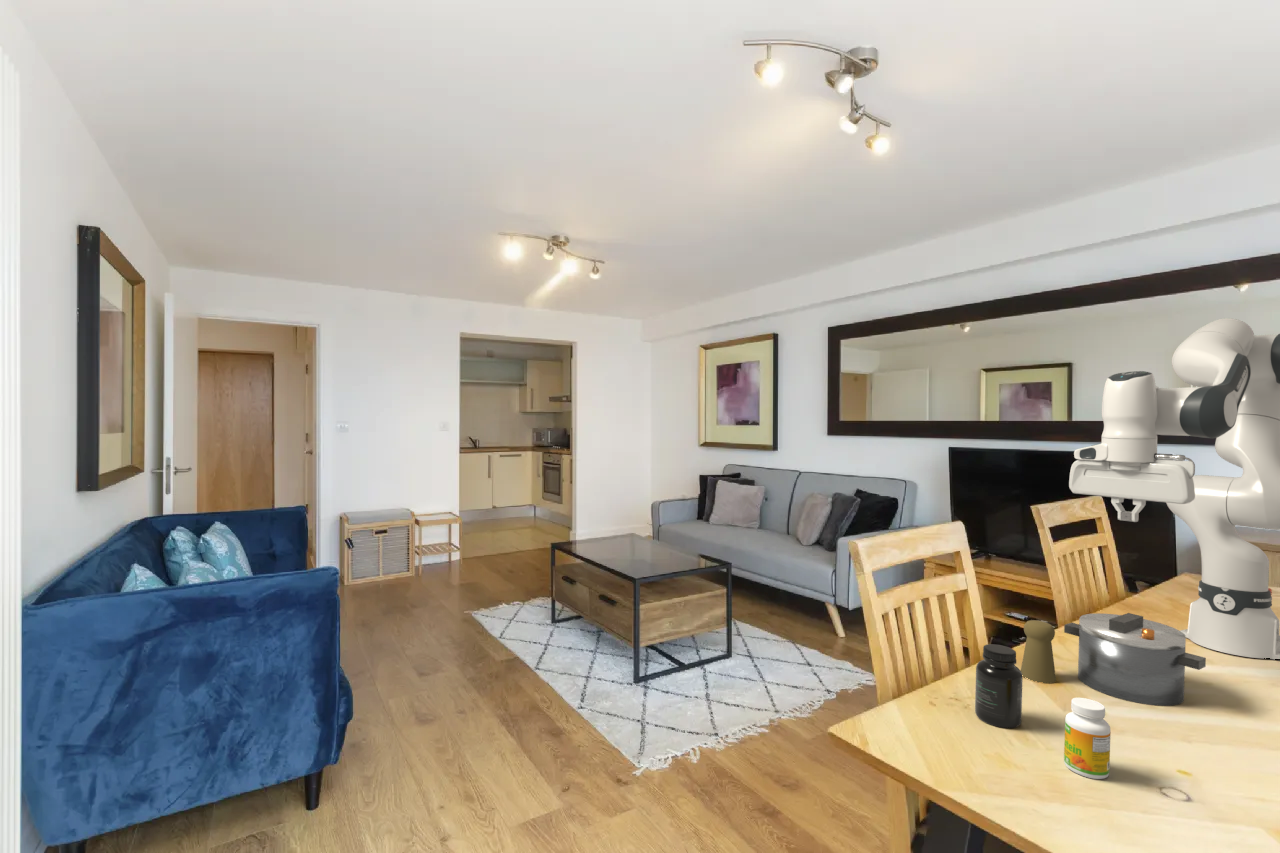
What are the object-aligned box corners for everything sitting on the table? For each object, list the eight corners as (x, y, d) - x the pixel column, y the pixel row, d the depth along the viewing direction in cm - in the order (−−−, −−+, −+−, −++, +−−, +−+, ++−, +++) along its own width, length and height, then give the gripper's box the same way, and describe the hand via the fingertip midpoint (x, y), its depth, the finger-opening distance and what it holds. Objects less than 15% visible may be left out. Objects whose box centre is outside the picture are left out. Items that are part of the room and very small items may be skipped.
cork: (1061, 684, 120) (1063, 628, 120) (1027, 681, 121) (1028, 625, 121) (1047, 672, 126) (1049, 618, 125) (1015, 669, 127) (1016, 616, 127)
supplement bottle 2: (1054, 759, 93) (1056, 695, 93) (1088, 758, 93) (1090, 694, 93) (1083, 780, 87) (1085, 712, 87) (1119, 779, 88) (1121, 711, 88)
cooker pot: (1085, 659, 133) (1086, 613, 133) (1217, 699, 114) (1219, 645, 114) (1046, 674, 125) (1048, 624, 124) (1182, 720, 106) (1184, 662, 106)
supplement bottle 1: (1000, 708, 109) (1002, 640, 109) (1031, 727, 102) (1033, 655, 102) (965, 711, 108) (967, 642, 108) (994, 730, 101) (996, 657, 101)
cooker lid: (1102, 616, 130) (1102, 599, 130) (1200, 640, 117) (1200, 621, 116) (1063, 628, 122) (1063, 611, 122) (1164, 656, 108) (1164, 636, 108)
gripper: (1201, 454, 117) (1200, 527, 118) (1079, 449, 135) (1079, 512, 135) (1188, 456, 114) (1187, 530, 114) (1065, 450, 132) (1065, 515, 132)
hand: (1128, 520), depth 125 cm, fingers closed
